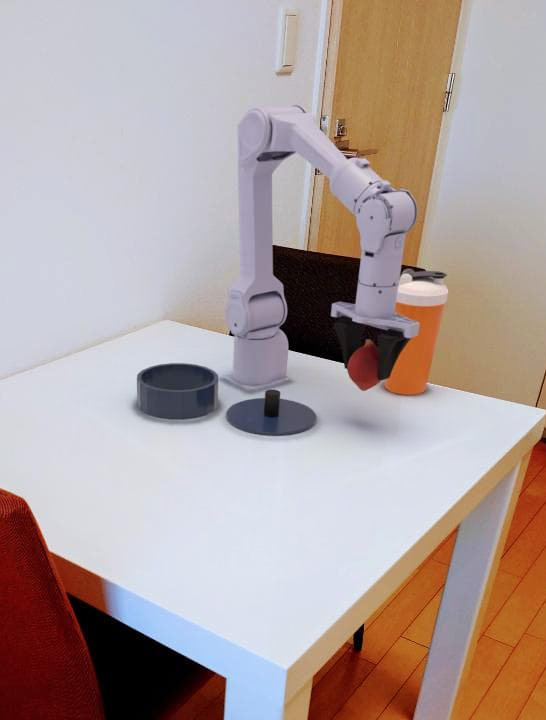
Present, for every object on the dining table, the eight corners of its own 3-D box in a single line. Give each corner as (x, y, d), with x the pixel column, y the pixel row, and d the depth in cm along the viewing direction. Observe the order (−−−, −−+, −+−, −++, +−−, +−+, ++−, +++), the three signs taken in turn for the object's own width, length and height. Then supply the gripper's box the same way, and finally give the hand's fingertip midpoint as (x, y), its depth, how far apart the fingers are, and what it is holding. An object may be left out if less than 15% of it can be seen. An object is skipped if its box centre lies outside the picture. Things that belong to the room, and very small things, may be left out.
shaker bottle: (432, 399, 138) (454, 279, 128) (379, 395, 140) (396, 277, 129) (429, 380, 146) (448, 267, 135) (378, 377, 147) (394, 264, 137)
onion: (380, 384, 127) (387, 334, 123) (385, 397, 122) (393, 346, 118) (343, 383, 127) (349, 333, 123) (346, 396, 123) (352, 345, 118)
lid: (275, 397, 139) (277, 370, 137) (334, 425, 129) (337, 396, 126) (208, 416, 132) (209, 388, 130) (265, 447, 122) (267, 416, 120)
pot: (186, 386, 144) (186, 358, 141) (233, 410, 134) (234, 380, 132) (122, 403, 137) (121, 373, 135) (167, 429, 128) (167, 397, 125)
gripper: (321, 277, 119) (313, 366, 126) (402, 297, 109) (388, 392, 116) (352, 269, 123) (342, 356, 130) (433, 288, 113) (418, 381, 120)
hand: (366, 372), depth 123 cm, fingers closed on onion, 6 cm apart
